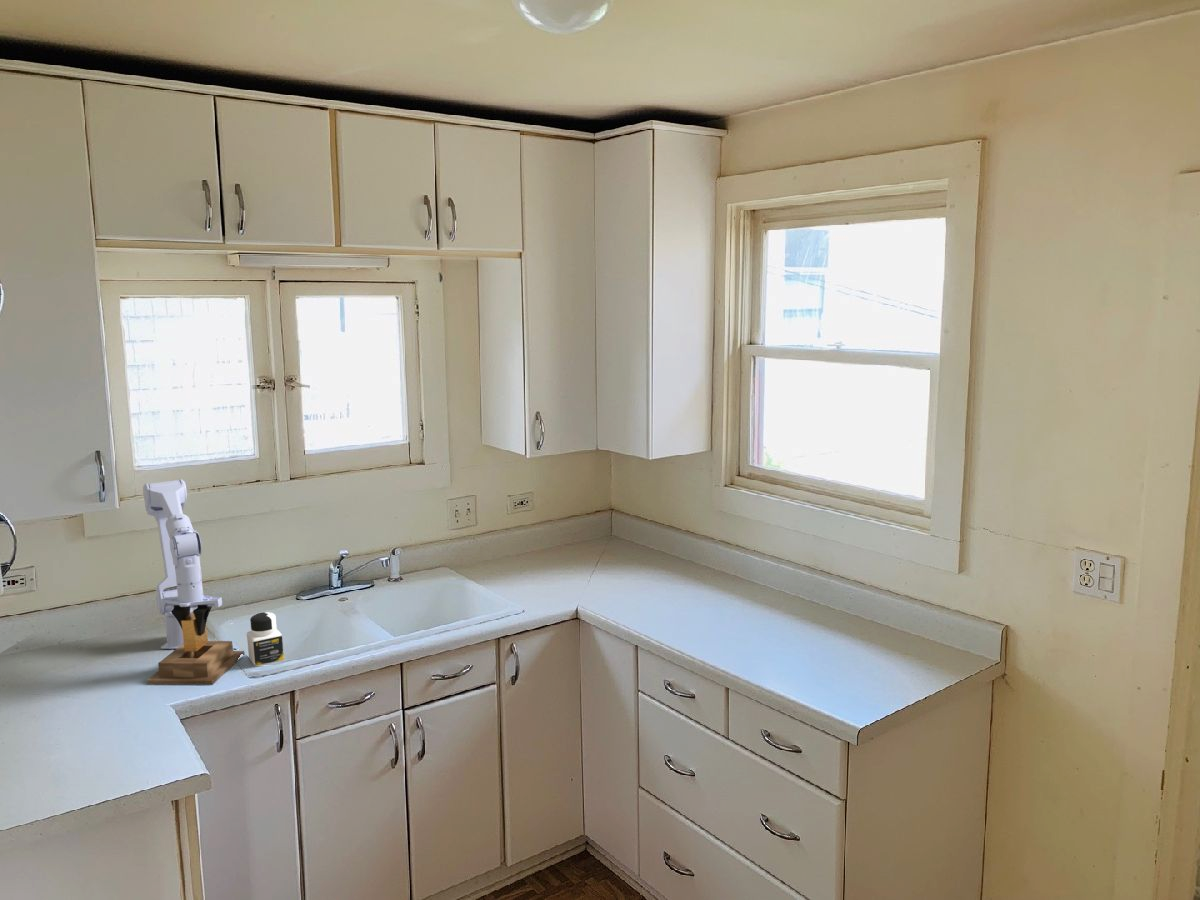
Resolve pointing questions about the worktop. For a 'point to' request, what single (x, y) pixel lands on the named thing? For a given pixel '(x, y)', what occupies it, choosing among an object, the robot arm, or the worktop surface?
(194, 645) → the wooden peg block
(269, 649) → the medicine bottle
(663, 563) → the worktop surface
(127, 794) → the worktop surface
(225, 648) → the well board
